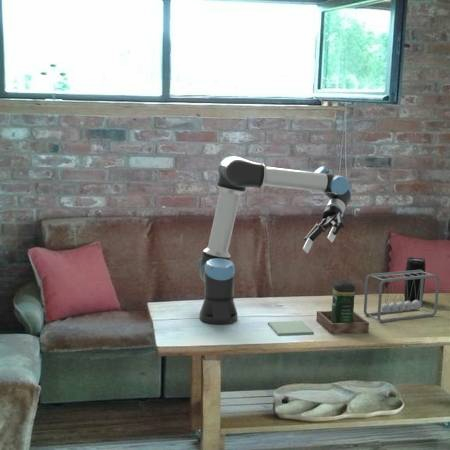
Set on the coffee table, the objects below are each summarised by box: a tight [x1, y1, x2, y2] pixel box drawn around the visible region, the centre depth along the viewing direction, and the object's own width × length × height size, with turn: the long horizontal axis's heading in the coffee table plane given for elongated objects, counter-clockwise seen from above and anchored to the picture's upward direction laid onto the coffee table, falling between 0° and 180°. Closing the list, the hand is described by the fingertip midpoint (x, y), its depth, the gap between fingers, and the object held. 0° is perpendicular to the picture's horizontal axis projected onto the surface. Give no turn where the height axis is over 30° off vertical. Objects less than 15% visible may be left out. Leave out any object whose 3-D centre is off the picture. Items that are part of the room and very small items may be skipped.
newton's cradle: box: [363, 270, 440, 323], centre depth 287 cm, size 30×10×18 cm, turn 114°
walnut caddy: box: [315, 310, 370, 335], centre depth 272 cm, size 15×17×4 cm
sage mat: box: [267, 320, 314, 336], centre depth 267 cm, size 14×14×1 cm
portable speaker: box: [403, 256, 426, 302], centre depth 310 cm, size 9×9×20 cm
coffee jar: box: [331, 278, 356, 323], centre depth 270 cm, size 10×8×19 cm
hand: (317, 245), depth 273 cm, fingers open, 13 cm apart
